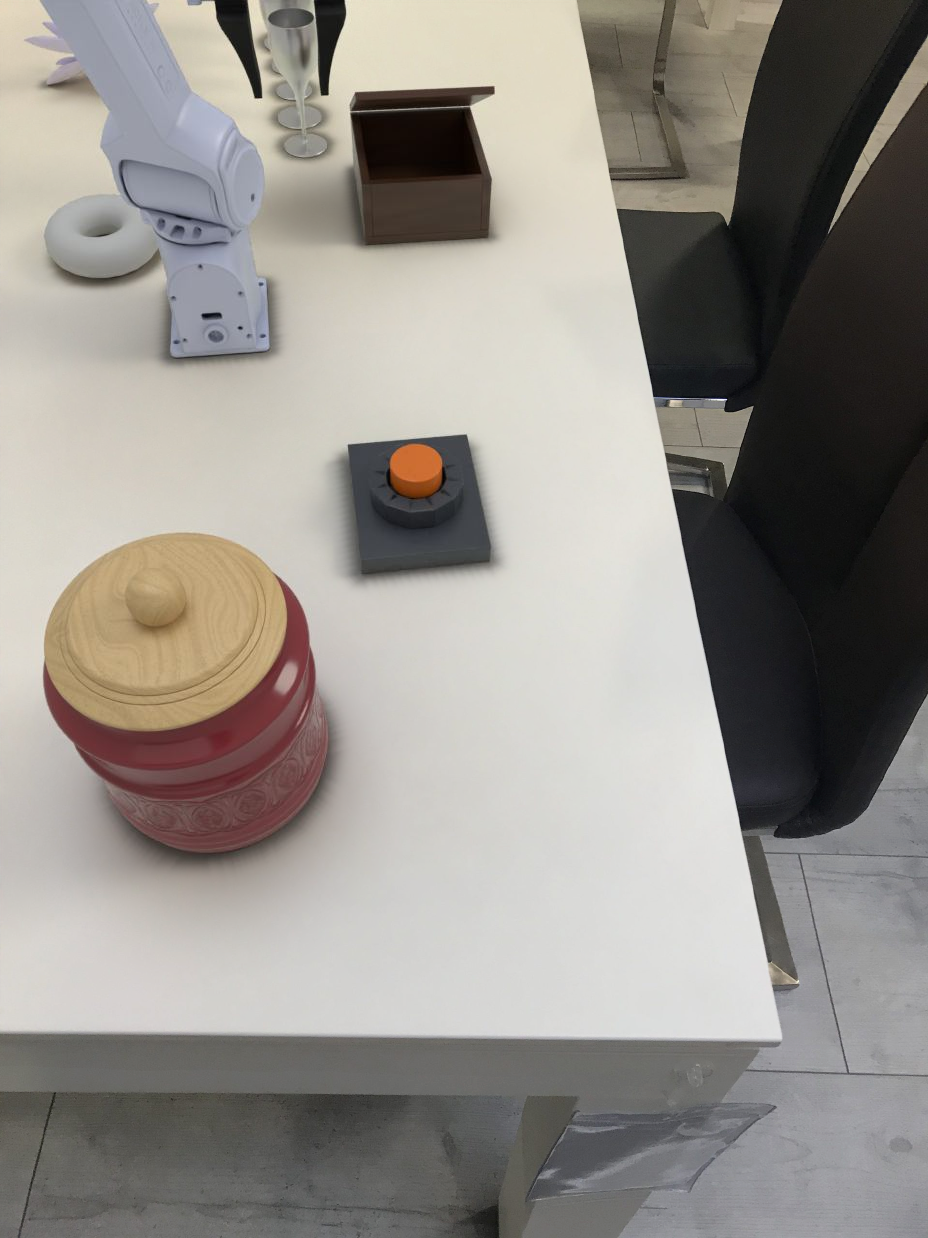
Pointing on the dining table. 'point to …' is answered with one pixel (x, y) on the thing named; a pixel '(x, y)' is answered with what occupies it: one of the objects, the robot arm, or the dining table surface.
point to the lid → (419, 98)
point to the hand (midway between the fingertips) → (291, 91)
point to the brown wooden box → (420, 175)
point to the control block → (417, 510)
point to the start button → (416, 471)
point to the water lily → (62, 51)
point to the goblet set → (294, 67)
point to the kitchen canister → (189, 689)
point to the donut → (99, 256)
